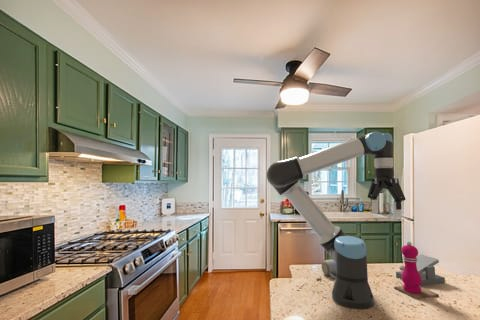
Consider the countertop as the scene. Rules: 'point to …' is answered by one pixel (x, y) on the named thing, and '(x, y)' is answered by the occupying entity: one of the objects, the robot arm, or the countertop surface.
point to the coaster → (423, 294)
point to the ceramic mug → (329, 268)
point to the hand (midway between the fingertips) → (385, 215)
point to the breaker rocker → (423, 263)
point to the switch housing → (427, 276)
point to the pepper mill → (411, 269)
